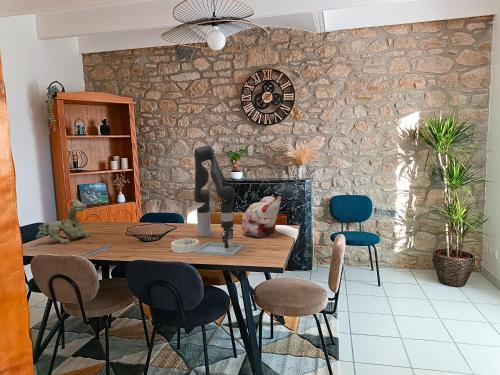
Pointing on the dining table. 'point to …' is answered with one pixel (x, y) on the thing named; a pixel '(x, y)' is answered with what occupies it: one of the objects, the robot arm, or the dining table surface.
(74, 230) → the sculpture
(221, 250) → the tray
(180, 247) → the bowl
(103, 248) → the plaque
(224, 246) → the stone sand
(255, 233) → the sculpture
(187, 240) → the stone slate
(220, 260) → the dining table surface
